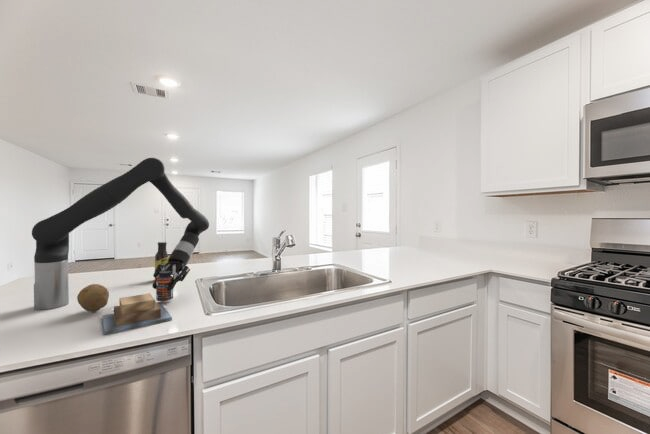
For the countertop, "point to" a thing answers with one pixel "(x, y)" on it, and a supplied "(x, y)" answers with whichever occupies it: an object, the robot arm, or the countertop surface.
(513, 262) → the countertop surface
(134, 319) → the block tower
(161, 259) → the sauce bottle
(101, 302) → the natural sponge
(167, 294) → the supplement bottle
